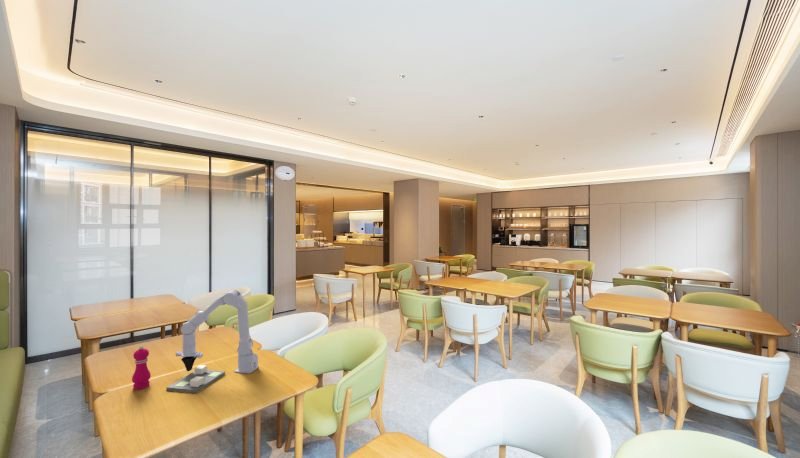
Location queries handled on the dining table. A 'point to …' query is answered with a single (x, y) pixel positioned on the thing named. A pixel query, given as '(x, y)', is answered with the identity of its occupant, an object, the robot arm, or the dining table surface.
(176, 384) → the switch board
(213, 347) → the dining table surface
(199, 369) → the right knob
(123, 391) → the dining table surface
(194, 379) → the left knob
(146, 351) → the pepper mill
